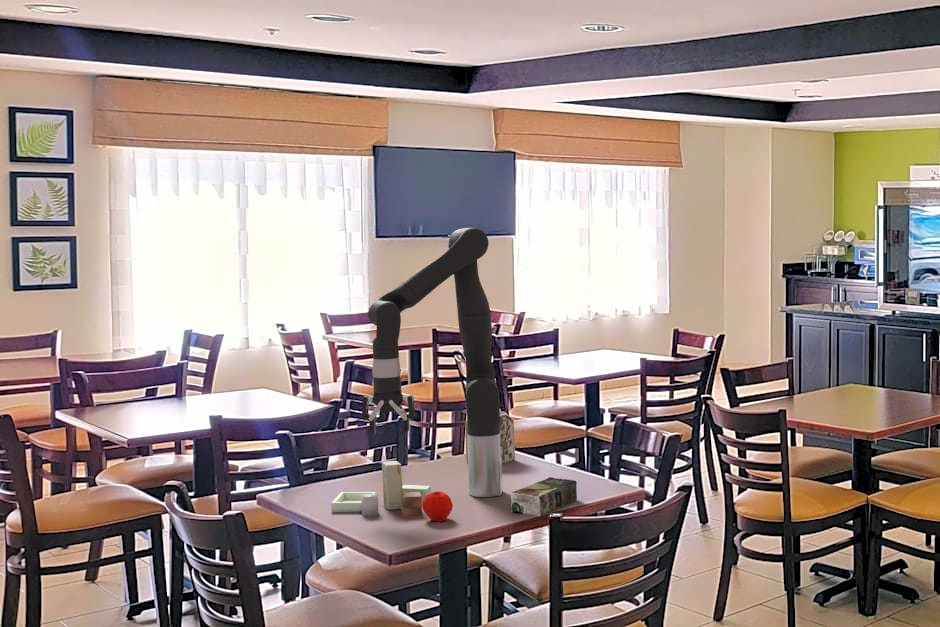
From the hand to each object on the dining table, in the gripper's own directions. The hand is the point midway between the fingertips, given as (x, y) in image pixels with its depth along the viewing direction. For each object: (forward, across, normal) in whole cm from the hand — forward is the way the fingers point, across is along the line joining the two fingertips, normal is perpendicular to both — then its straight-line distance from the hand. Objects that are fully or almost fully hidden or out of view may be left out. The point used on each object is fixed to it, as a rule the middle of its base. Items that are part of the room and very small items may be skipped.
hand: (389, 433), depth 287 cm
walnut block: (+20, -6, +6) cm, 22 cm away
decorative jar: (+21, -21, -56) cm, 63 cm away
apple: (+20, -15, +13) cm, 28 cm away
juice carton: (+21, -41, -1) cm, 46 cm away
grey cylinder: (+20, +5, +8) cm, 22 cm away
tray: (+20, +11, 0) cm, 23 cm away
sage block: (+20, -5, -7) cm, 22 cm away
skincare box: (+20, 0, 0) cm, 20 cm away
